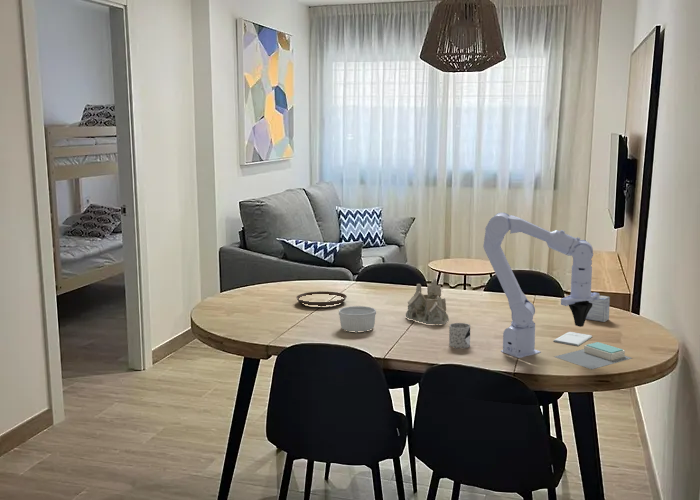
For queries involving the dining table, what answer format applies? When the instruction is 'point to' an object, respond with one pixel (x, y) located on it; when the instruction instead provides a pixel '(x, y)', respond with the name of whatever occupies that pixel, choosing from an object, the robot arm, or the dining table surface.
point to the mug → (459, 335)
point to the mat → (588, 359)
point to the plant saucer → (322, 302)
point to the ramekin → (357, 318)
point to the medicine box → (599, 309)
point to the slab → (604, 351)
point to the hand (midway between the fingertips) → (579, 325)
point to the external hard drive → (573, 338)
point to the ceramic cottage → (428, 305)
